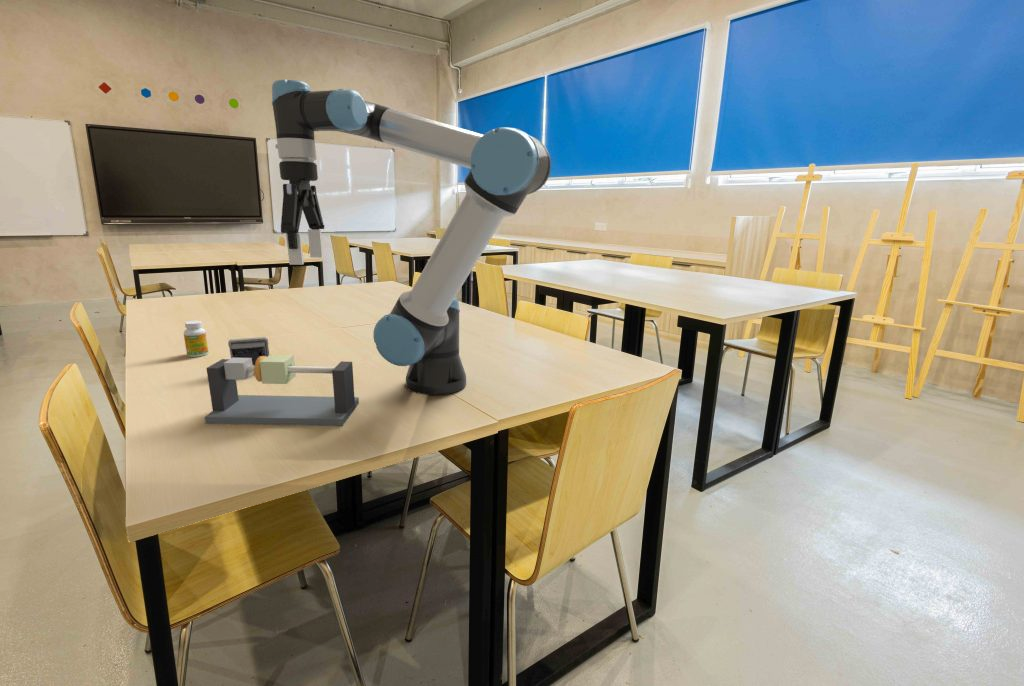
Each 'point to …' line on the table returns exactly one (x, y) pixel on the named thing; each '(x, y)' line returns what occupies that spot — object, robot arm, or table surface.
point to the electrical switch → (249, 348)
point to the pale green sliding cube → (276, 369)
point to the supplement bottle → (195, 339)
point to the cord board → (277, 397)
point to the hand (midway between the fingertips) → (307, 260)
